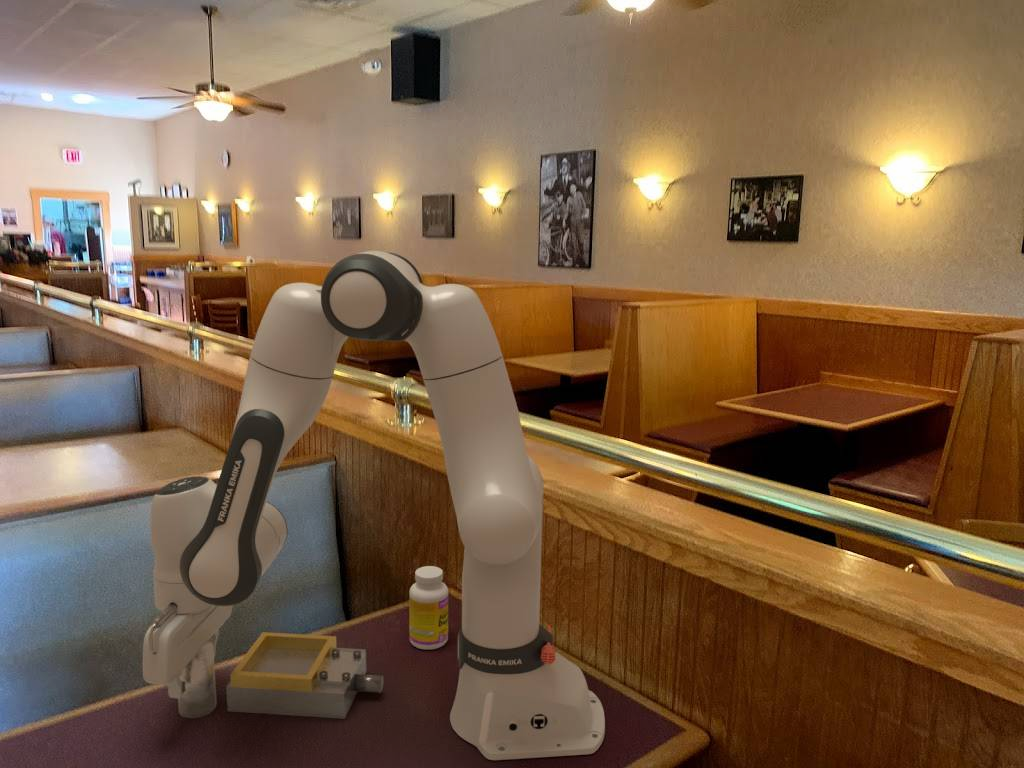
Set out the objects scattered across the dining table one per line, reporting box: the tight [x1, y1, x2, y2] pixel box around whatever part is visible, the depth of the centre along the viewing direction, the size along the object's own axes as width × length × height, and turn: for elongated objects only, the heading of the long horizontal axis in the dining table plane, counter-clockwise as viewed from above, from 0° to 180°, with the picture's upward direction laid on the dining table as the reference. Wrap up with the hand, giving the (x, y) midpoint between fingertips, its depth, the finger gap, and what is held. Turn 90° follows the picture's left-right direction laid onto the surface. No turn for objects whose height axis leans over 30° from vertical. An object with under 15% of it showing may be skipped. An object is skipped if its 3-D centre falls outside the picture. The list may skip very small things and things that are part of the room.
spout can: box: [177, 639, 218, 719], centre depth 113 cm, size 7×5×11 cm
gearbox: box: [225, 631, 384, 720], centre depth 118 cm, size 22×12×6 cm, turn 86°
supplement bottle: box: [408, 565, 449, 651], centre depth 132 cm, size 7×7×13 cm
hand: (193, 676), depth 113 cm, fingers open, 8 cm apart
